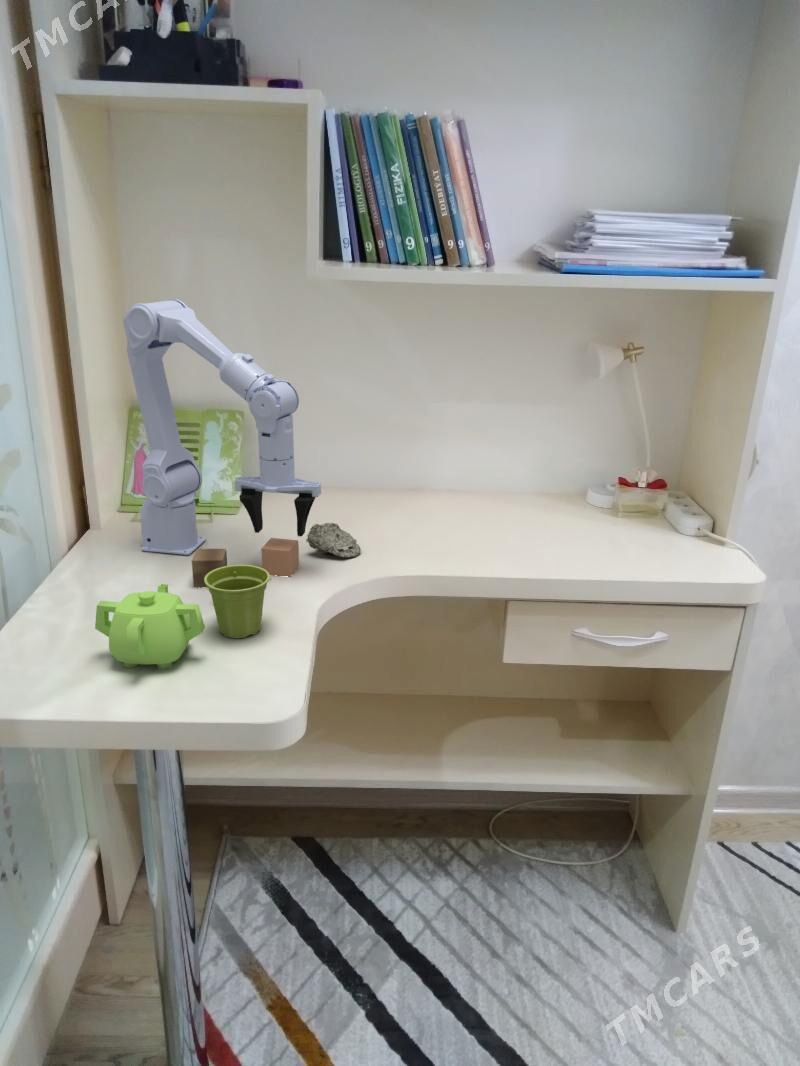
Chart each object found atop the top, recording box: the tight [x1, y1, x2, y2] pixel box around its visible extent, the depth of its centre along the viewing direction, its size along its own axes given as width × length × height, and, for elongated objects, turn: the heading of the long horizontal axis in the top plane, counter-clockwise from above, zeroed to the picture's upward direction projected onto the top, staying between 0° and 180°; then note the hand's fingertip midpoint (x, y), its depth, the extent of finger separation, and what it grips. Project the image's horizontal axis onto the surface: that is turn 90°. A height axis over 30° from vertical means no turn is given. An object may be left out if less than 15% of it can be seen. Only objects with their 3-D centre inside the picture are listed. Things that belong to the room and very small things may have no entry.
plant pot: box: [204, 564, 271, 639], centre depth 122 cm, size 9×9×9 cm
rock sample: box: [305, 522, 362, 558], centre depth 151 cm, size 10×8×9 cm
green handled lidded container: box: [94, 583, 206, 670], centre depth 114 cm, size 12×12×10 cm
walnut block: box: [191, 548, 228, 589], centre depth 138 cm, size 5×5×5 cm
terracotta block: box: [260, 537, 300, 578], centre depth 143 cm, size 5×5×5 cm
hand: (279, 532), depth 141 cm, fingers open, 7 cm apart
